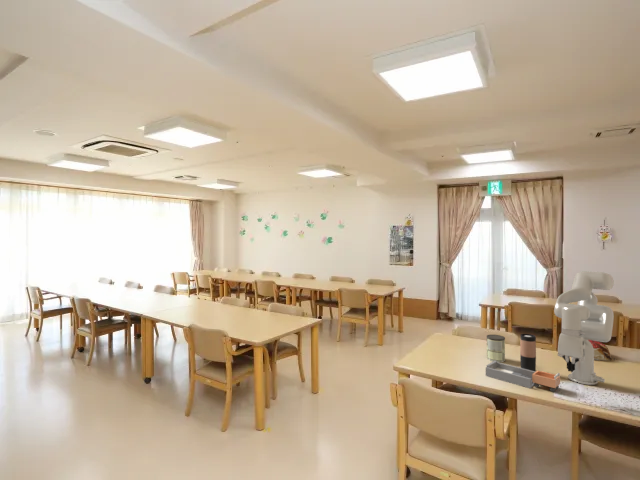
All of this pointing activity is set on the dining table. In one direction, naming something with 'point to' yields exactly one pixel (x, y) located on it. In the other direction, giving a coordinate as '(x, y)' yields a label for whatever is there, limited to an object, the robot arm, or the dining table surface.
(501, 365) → the drawer housing
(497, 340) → the coffee can
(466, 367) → the dining table surface
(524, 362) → the travel mug
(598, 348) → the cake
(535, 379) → the orange drawer with handle
